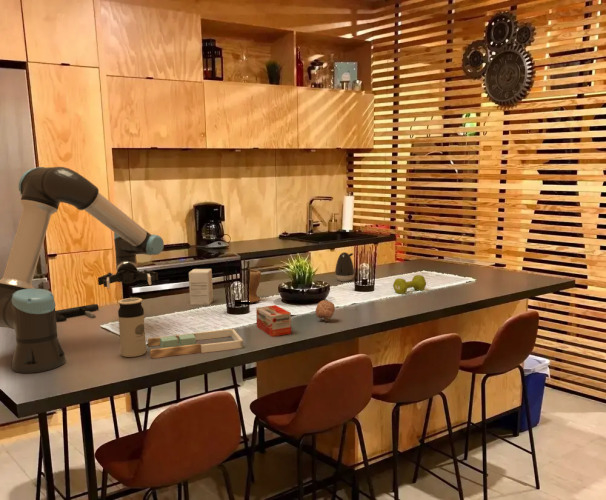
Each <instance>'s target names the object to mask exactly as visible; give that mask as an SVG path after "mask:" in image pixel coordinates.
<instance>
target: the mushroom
mask: <svg viewBox="0 0 606 500" xmlns="http://www.w3.org/2000/svg"><path fill="white" fill-rule="evenodd" d="M335 310H336V307H335V304H334V303H333V302H332V301H329V300H325V299H324V300H321V301H319V302H318V303H317V305H316V308H315V316H316V317H317V318H318V319H323V320H324V321H325V322H326V323H327V322H328V320H329V319H331V318H332V317H333V316H334V313H335Z"/></svg>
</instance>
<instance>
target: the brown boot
mask: <svg viewBox="0 0 606 500" xmlns="http://www.w3.org/2000/svg"><path fill="white" fill-rule="evenodd" d="M249 269H250V286H249V301H250V304H251V303H256V302H259V301H260V300H261V299H260V297H259V296H258V295H257V292H258V291H257V290H258V288H259V285H260V282H261V279H262V273H261V271H260V270H257V269H253V268H249Z"/></svg>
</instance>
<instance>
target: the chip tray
mask: <svg viewBox="0 0 606 500" xmlns="http://www.w3.org/2000/svg"><path fill="white" fill-rule="evenodd" d="M194 333H195V338H196V341H203V340H209V339H210V340H211V339H219V338H229V337H231V338H232V340H229V341H222V342H214V343H213V342H212V343H205V344H201V352H200V353H202V354H203V353H204V354H205V353H213V352H220V351H228V350H230V351H231V350H237V349H238V350H239V349H244V340H243V338H242V337H241V336H240V335H239V333H237V331H236V330H235V329H234V328H228V329H227V328H226V329H216V330H209V331H199V332H194Z"/></svg>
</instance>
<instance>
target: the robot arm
mask: <svg viewBox="0 0 606 500" xmlns="http://www.w3.org/2000/svg"><path fill="white" fill-rule="evenodd" d="M18 191H19V192H20V196H21V199H20V200H19V201H20V204H21V205H22V207H23V209H22V213H21V215H20V218H19V223H18V226H17V229H16V233H15V237H14V239H13V243H12V246H11V249H10V253H9V256H8V259H7V262H6V263H7V264H6V267H5V271H4V273H3V276H2V278H1V279H0V328H7V329H12V330H14V331H15V342H16V345H15V348H14V352H13V356H12V360H11V366H12V370H13V371H14V372H16V373H22V374H32V373H41V372H46V371H51V370H53V369H56V368H58V367H61V366H63V365H64V364H65V363H66V353H65V351H64V349H63V347H62V345H61V342H60V341H59V339H58V328H57V321H56V313H55V311H56V301H55V297H54V294H53V293H52V291H50V290H47V289H44V288H34V286H33V284H32V283H33V279H34V276H35V273H36V269H37V266H38V263H39V259H40V255H41V252H42V249H43V248H42V247H43V245H44V241H45V238H46V234H47V230H48V227H49V224H50V220H51V217H52V215H53V214H55V213H57V212H58V209H59V206H60V203H64V204H68V205H71V206H72V207H74V208H76V209H77V210H79V211H85V212H87V214H89V215H91V217H93V218H94V219H95V220H97V221H99V222H100V223H101V224H102V225H104V226H105V227H107V228H108V229H110V231H112V232H113V237H114V238H113V241H114V243H113V244H114V251H115V270H116V272H115V273H114V274H113V273H112V272H107V274H104V275H102V276H99V277H97V282H98V283H97V285H98V286H102V285H103V287H104V288H106V289H107V290H109V289H110V286H111V284H113V283H122V284H127V285H130V284H132V283H134V282H136V281H147V283H148V285H149V286H151V285H152V282H154V281H158V280H159V273H158V272H155V271H150V270H147V269H144V270H142V272H141V271H140V270H138V268H137V254H138V255H148V256H152V255H153V256H157V255H160V254H161V253H162V252H163V250H164V248H165V247H164V246H165V245H164V239H163V238H162V237H161V236H160V235H156V234H151V232H148V231H147V230H145V228H143V227H142V226H141V225H140V224H138V223H137V222H136V221H134V220H133V219H132V218H131V217H130V216H129V215H127V214H126V213H125V212H124V211H122V209H120V208H119V207H117V206H116V205H115V204H114V203H112V201H110V200H109V199H107V198H106V197H105V196H104V195H102V194H101V193H100V191H99V188H98V187H97V185H95V184H94V183H92V182H91V181H90V180H89V179H87V178H86V177H85V176H83V175H81V174H80V173H78V172H77V171H75V170H72V169H71V168H68V167H65V166H55V167H54V166H53V167H52V166H51V167H49V166H48V167H44V166H43V167H42V166H38V167H35V168H30V169H28V170H26V171H25V172H24V173H23V174H22V175H21V176H20V178H19V181H18Z"/></svg>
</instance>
